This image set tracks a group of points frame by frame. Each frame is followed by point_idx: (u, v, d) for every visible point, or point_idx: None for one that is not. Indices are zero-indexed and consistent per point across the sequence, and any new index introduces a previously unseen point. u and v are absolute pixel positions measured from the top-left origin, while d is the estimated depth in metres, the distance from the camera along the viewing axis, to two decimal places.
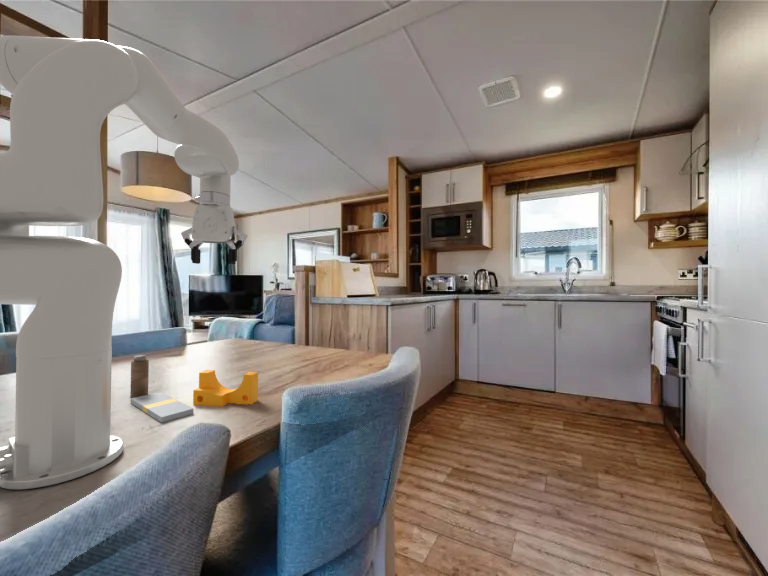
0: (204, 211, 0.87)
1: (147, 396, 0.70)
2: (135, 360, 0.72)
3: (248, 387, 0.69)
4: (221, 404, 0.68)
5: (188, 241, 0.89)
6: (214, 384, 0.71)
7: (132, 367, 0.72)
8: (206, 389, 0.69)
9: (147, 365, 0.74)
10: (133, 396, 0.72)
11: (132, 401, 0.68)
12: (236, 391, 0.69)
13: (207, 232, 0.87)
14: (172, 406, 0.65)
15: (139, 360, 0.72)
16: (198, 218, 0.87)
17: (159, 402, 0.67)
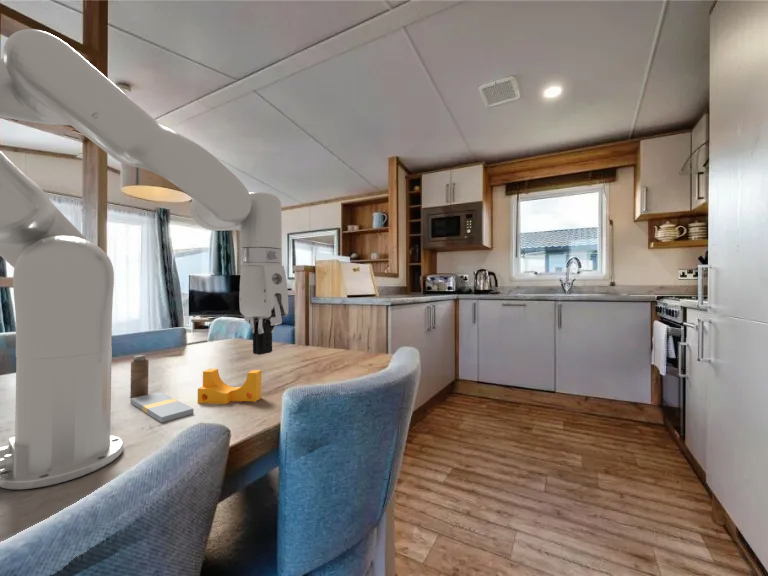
0: None
1: (147, 396, 0.70)
2: (135, 360, 0.72)
3: (252, 385, 0.71)
4: (226, 402, 0.69)
5: None
6: (218, 383, 0.72)
7: (132, 367, 0.72)
8: (210, 387, 0.71)
9: (147, 365, 0.74)
10: (133, 396, 0.72)
11: (132, 401, 0.68)
12: (240, 389, 0.71)
13: None
14: (172, 406, 0.65)
15: (139, 360, 0.72)
16: None
17: (159, 402, 0.67)
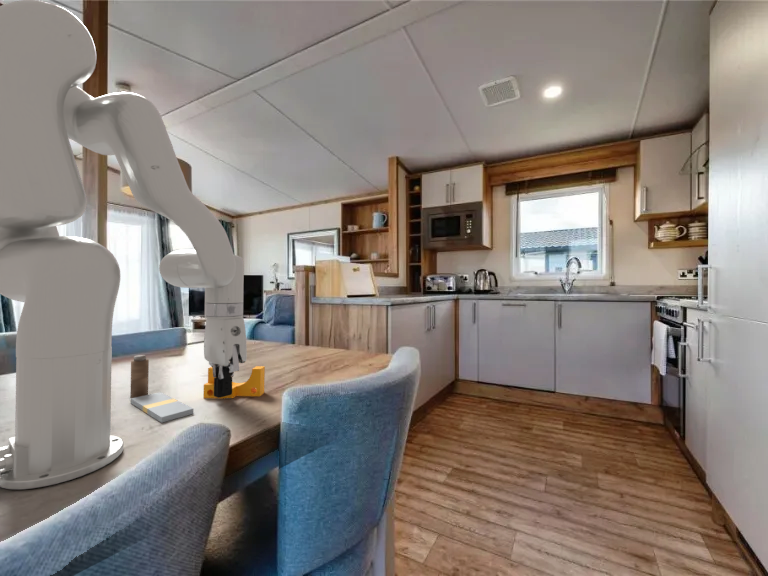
0: None
1: (147, 396, 0.70)
2: (135, 360, 0.72)
3: (256, 380, 0.74)
4: (231, 397, 0.73)
5: None
6: None
7: (132, 367, 0.72)
8: None
9: (147, 365, 0.74)
10: (133, 396, 0.72)
11: (132, 401, 0.68)
12: (245, 384, 0.74)
13: None
14: (172, 406, 0.65)
15: (139, 360, 0.72)
16: None
17: (159, 402, 0.67)
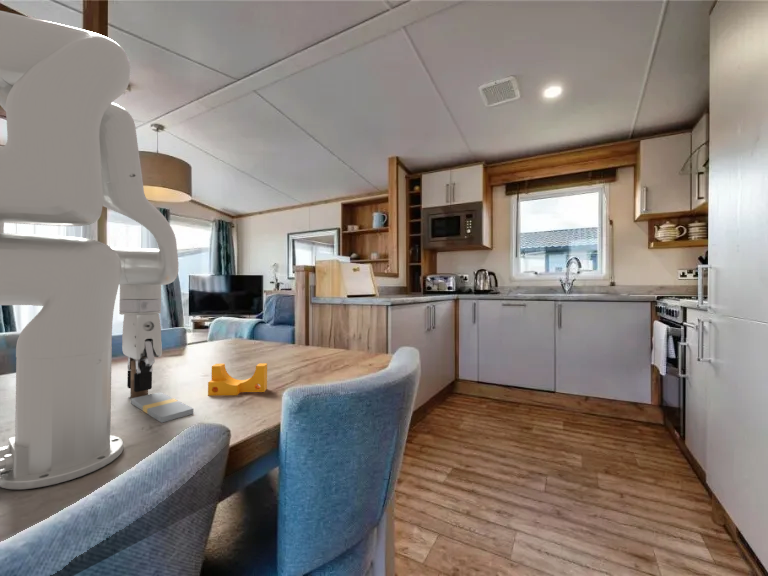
0: None
1: (147, 396, 0.70)
2: (135, 360, 0.72)
3: (260, 377, 0.77)
4: (236, 393, 0.75)
5: None
6: (226, 376, 0.77)
7: (132, 367, 0.72)
8: (220, 380, 0.76)
9: None
10: (133, 396, 0.72)
11: (132, 401, 0.68)
12: (249, 381, 0.77)
13: None
14: (172, 406, 0.65)
15: None
16: None
17: (159, 402, 0.67)
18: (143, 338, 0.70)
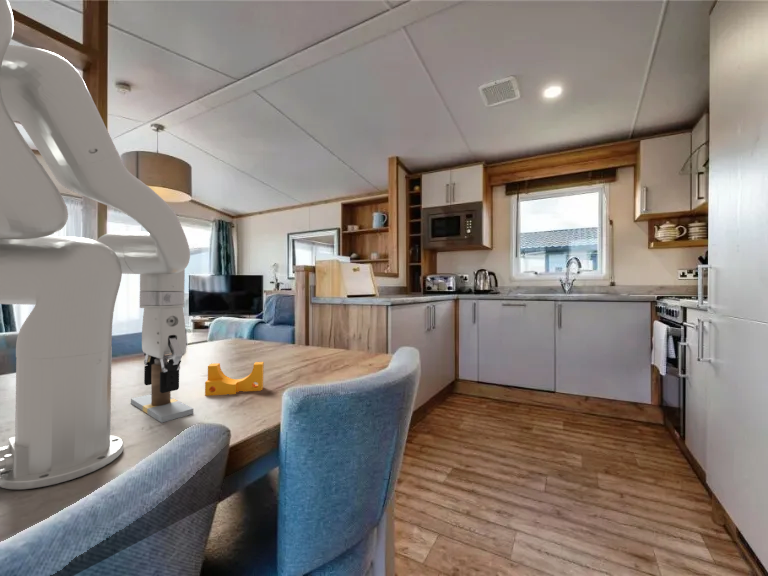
0: None
1: (147, 396, 0.70)
2: (156, 364, 0.65)
3: (258, 375, 0.78)
4: (234, 392, 0.76)
5: None
6: (222, 376, 0.78)
7: (153, 371, 0.65)
8: (217, 380, 0.76)
9: None
10: (155, 403, 0.65)
11: (132, 401, 0.68)
12: (246, 380, 0.78)
13: None
14: (172, 406, 0.65)
15: None
16: None
17: None
18: (166, 334, 0.63)
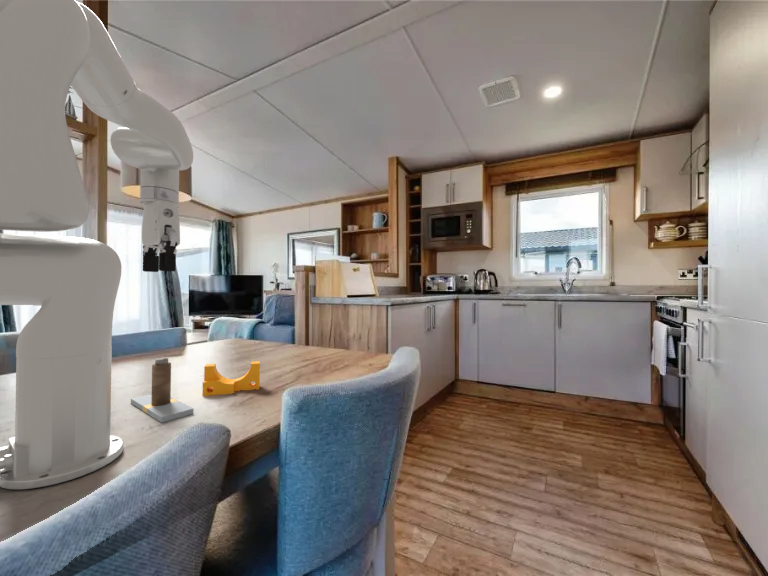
0: None
1: (147, 396, 0.70)
2: (157, 364, 0.65)
3: (255, 374, 0.79)
4: (232, 391, 0.76)
5: None
6: (219, 376, 0.78)
7: (154, 371, 0.65)
8: (214, 380, 0.76)
9: (170, 369, 0.67)
10: (155, 404, 0.65)
11: (132, 401, 0.68)
12: (243, 379, 0.78)
13: None
14: (172, 406, 0.65)
15: (161, 364, 0.65)
16: None
17: None
18: (163, 223, 0.73)
